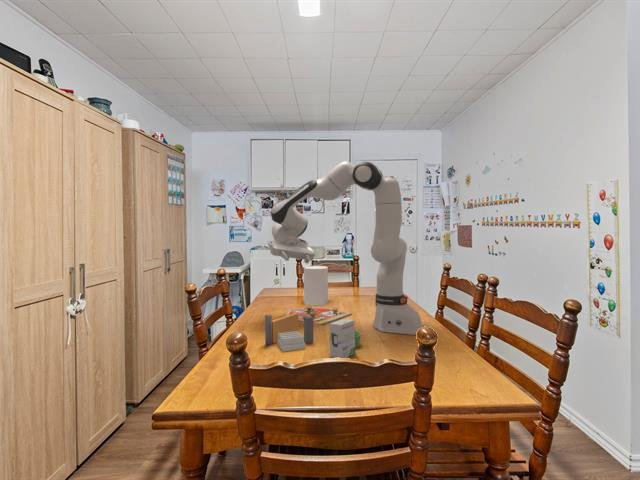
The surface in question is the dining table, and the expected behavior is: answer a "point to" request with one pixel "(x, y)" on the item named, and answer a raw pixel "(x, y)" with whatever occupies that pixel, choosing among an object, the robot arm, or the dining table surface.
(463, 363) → the dining table surface
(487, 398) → the dining table surface
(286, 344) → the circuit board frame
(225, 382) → the dining table surface
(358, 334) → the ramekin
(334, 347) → the ink box
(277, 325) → the tan wooden panel
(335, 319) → the knob puzzle
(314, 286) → the canister
